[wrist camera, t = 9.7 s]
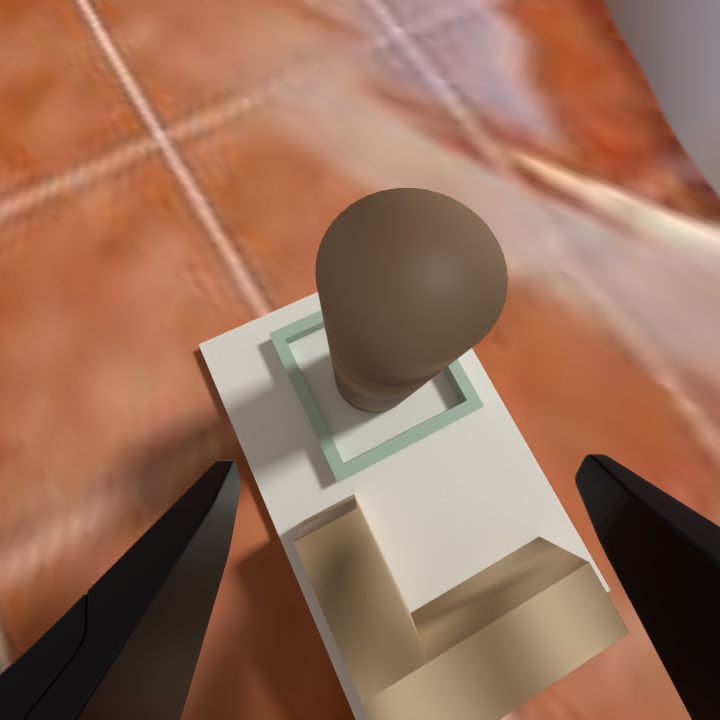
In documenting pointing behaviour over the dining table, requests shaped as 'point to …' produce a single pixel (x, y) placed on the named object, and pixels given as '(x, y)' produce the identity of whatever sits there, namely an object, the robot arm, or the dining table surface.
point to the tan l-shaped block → (453, 624)
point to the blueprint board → (383, 461)
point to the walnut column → (405, 292)
